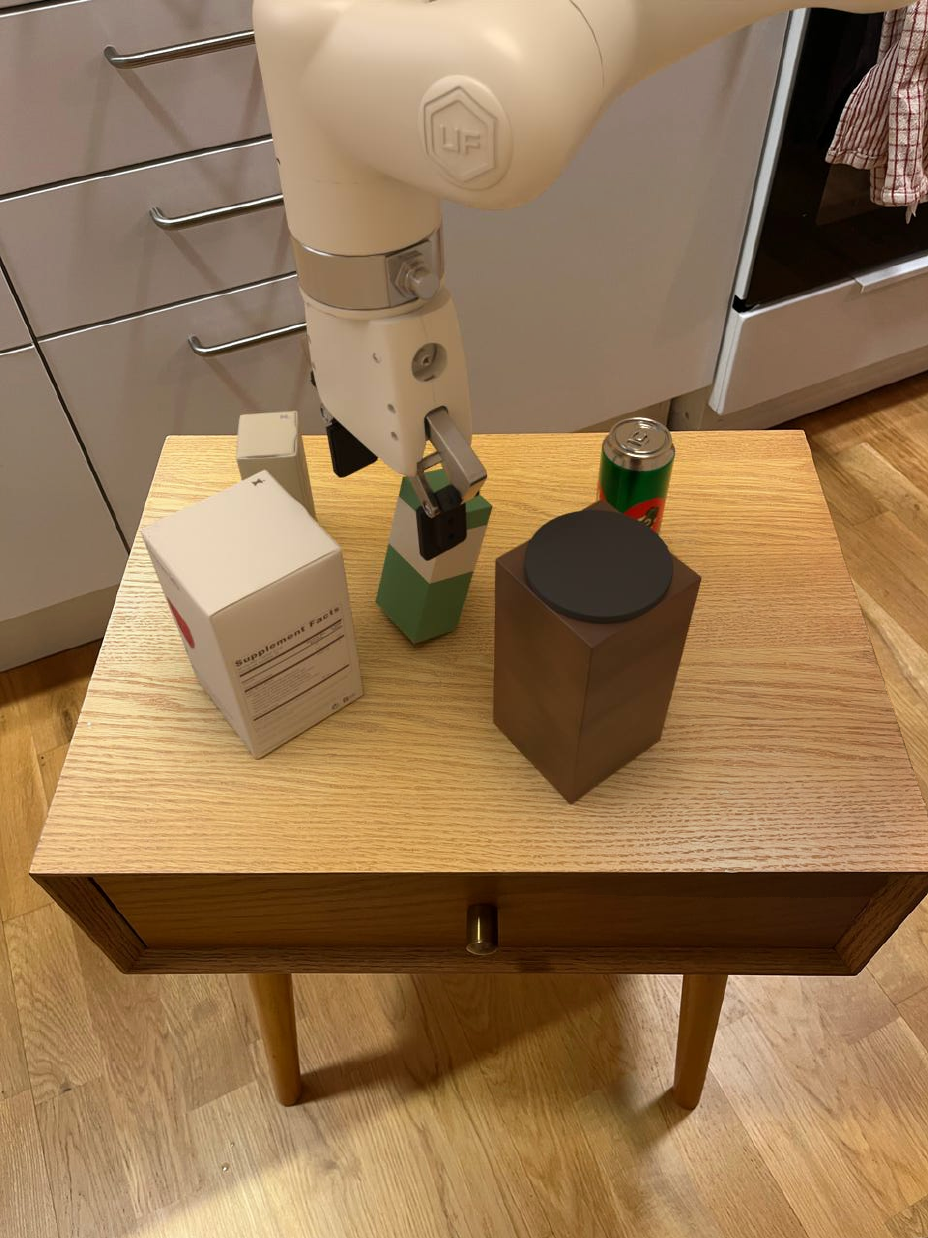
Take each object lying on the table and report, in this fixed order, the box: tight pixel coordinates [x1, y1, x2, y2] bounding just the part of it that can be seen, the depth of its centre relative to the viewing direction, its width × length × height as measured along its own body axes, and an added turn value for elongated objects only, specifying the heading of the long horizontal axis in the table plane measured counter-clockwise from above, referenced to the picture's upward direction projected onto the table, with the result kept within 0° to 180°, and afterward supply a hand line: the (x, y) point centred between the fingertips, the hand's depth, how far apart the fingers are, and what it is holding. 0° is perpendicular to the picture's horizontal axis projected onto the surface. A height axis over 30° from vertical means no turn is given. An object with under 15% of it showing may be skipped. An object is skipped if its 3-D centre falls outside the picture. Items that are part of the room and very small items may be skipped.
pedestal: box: [492, 499, 703, 805], centre depth 59 cm, size 8×8×16 cm
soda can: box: [594, 416, 676, 536], centre depth 70 cm, size 5×5×12 cm
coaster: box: [524, 509, 673, 623], centre depth 52 cm, size 8×8×1 cm
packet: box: [375, 468, 493, 645], centre depth 67 cm, size 11×5×4 cm
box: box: [235, 410, 318, 523], centre depth 73 cm, size 5×4×11 cm
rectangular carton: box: [139, 470, 365, 760], centre depth 62 cm, size 9×9×15 cm
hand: (398, 506), depth 61 cm, fingers open, 9 cm apart
